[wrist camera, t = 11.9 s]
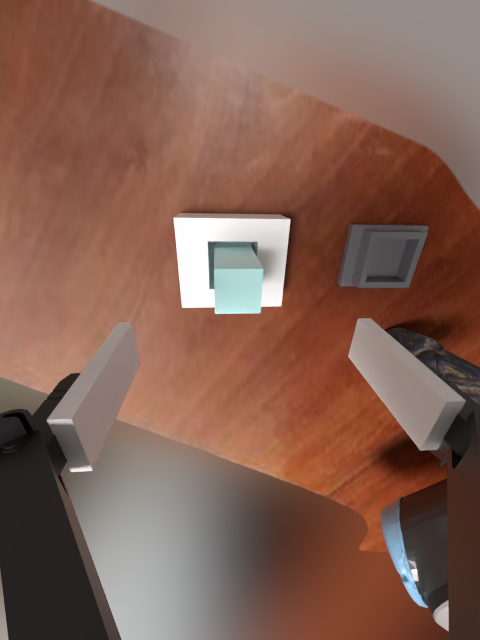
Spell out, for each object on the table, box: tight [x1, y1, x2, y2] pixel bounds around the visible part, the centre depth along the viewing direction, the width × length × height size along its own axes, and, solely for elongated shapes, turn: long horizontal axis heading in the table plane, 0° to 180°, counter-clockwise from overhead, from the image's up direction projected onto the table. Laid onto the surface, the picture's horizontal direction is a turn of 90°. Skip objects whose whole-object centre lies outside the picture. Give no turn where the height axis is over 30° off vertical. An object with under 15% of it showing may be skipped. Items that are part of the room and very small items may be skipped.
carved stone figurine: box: [386, 327, 480, 405], centre depth 35 cm, size 6×12×15 cm, turn 118°
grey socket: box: [337, 224, 429, 288], centre depth 33 cm, size 10×8×3 cm
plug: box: [214, 241, 263, 314], centre depth 27 cm, size 4×4×12 cm
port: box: [174, 213, 290, 308], centre depth 31 cm, size 12×10×5 cm
